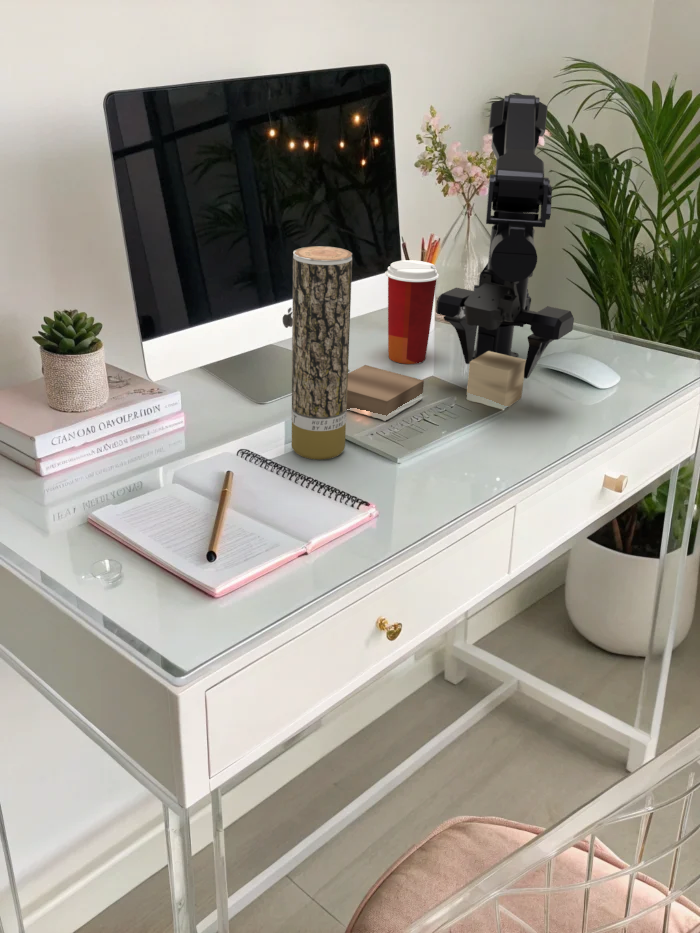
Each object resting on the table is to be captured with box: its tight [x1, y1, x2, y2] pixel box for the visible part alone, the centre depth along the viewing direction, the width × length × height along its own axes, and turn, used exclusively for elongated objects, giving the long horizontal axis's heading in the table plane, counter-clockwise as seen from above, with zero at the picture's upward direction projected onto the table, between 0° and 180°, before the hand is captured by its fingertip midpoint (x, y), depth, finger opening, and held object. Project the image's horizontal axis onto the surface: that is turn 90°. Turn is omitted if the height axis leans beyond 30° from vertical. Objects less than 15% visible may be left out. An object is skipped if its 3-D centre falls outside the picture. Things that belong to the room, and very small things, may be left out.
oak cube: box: [466, 351, 526, 407], centre depth 133 cm, size 6×6×6 cm
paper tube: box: [291, 245, 353, 461], centre depth 111 cm, size 7×7×25 cm
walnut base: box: [347, 364, 425, 416], centre depth 131 cm, size 10×10×3 cm
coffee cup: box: [384, 259, 440, 365], centre depth 145 cm, size 8×8×15 cm
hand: (497, 370), depth 132 cm, fingers open, 9 cm apart
